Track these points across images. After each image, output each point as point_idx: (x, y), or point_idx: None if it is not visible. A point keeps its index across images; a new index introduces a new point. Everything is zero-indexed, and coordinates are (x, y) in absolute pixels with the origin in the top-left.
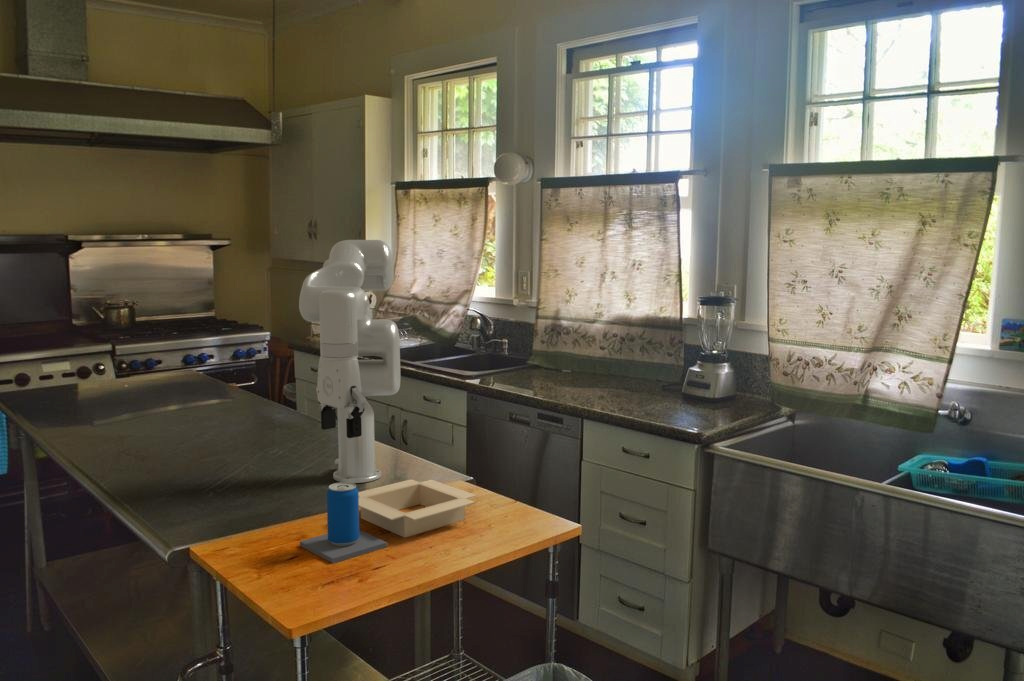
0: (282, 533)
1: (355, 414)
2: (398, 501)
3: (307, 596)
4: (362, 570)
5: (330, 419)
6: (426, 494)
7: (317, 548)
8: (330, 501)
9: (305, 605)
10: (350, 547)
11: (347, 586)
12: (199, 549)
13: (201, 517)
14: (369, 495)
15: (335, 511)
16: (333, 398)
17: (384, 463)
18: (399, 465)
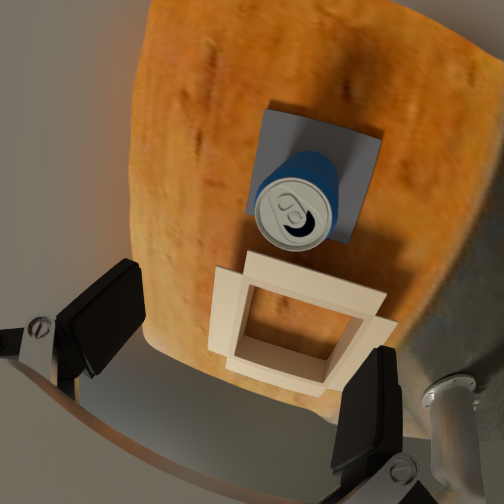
0: (447, 176)
1: (17, 329)
2: (339, 347)
3: (202, 17)
4: (208, 119)
5: (353, 413)
6: (308, 369)
7: (325, 127)
8: (301, 165)
9: (185, 5)
10: (278, 163)
11: (184, 69)
12: (493, 63)
13: None
14: (364, 327)
15: (289, 162)
16: (26, 466)
17: None
18: (415, 424)
